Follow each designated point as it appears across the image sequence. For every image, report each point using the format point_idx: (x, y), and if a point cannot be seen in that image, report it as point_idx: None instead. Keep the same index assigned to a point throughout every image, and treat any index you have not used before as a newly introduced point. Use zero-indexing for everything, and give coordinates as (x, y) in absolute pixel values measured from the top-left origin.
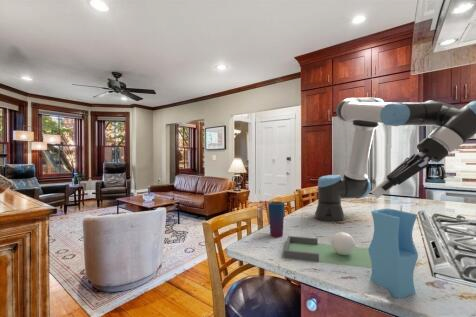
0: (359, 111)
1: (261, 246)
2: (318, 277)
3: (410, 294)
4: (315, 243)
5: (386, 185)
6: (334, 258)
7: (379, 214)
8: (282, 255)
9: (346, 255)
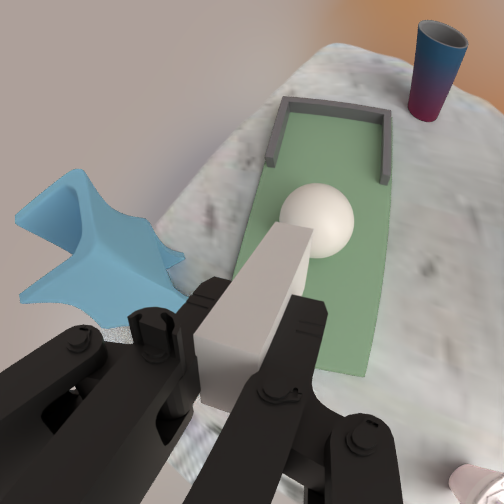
0: None
1: (358, 80)
2: (213, 164)
3: None
4: (380, 176)
5: (186, 306)
6: None
7: (54, 184)
8: None
9: None
